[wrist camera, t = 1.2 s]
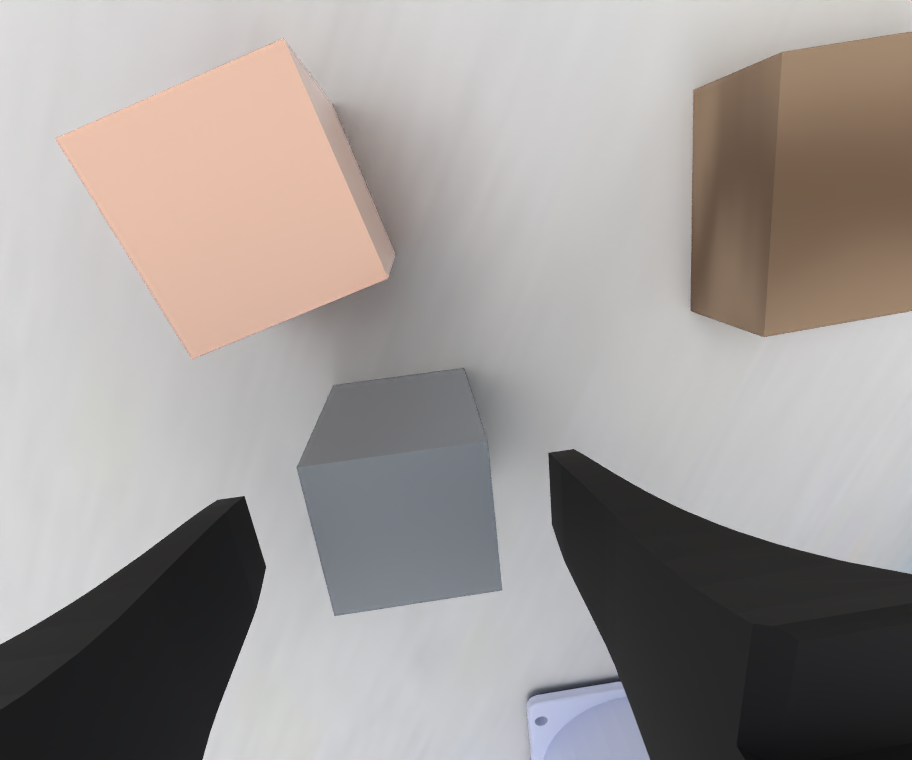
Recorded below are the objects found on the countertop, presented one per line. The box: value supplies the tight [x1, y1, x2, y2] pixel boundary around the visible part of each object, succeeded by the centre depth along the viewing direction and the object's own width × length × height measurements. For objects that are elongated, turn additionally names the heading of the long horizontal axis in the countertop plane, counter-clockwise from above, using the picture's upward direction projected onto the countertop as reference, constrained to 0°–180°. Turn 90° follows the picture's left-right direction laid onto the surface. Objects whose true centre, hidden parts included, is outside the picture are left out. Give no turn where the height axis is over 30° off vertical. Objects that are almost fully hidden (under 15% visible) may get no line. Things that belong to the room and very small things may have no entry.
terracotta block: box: [55, 38, 396, 359], centre depth 11 cm, size 4×4×5 cm
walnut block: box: [691, 32, 912, 337], centre depth 13 cm, size 6×6×4 cm
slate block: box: [297, 368, 502, 616], centre depth 13 cm, size 4×4×5 cm
